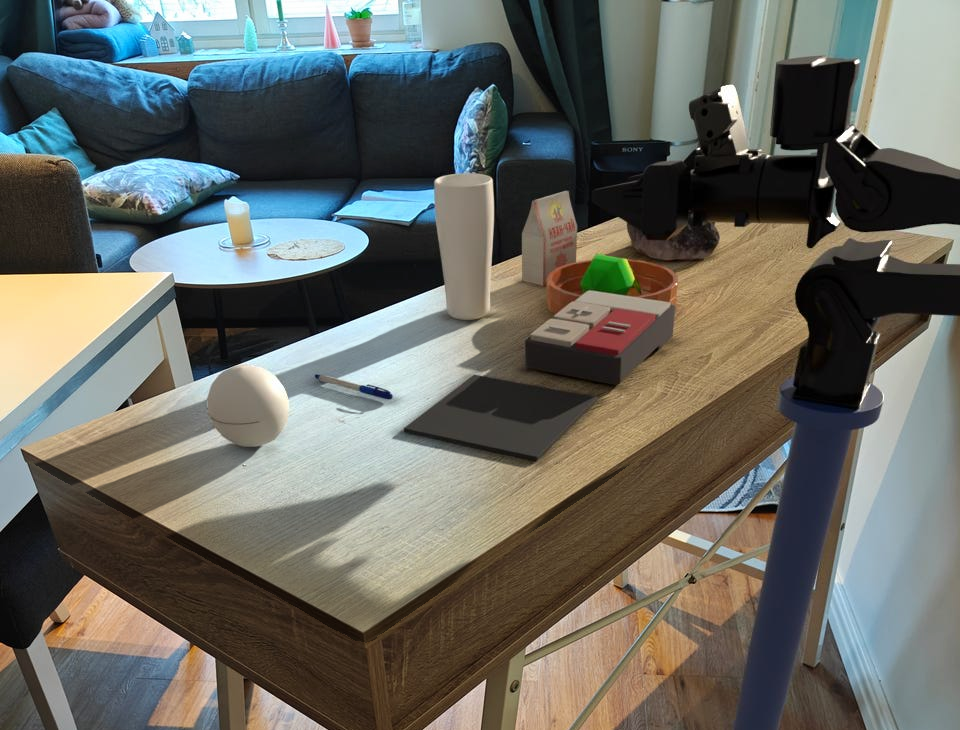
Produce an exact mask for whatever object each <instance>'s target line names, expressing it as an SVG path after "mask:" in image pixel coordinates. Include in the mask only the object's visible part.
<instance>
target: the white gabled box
mask: <svg viewBox="0 0 960 730" xmlns="http://www.w3.org/2000/svg"><path fill="white" fill-rule="evenodd" d="M577 245H578V223H577V221H576V218H575V213H574V210H573V206H572V203H571V198H570V190H564V191H561V192H557V193H554V194H551V195H547V196H544V197H540V198H537V199H534V200H532V201H531V205H530V210H529V213H528V216H527V219H526V221H525V224H524V227H523V229H522V232H521V281H522V282H526V283H530V284H534V285H538V286H542V287H544V286H547V278H548V275H549V273H551V272H552V271H553V270H555V269H556V268H558V267H561V266H564V265H567V264H570V263H574V262H577Z"/></svg>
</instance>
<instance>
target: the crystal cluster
mask: <svg viewBox="0 0 960 730" xmlns="http://www.w3.org/2000/svg"><path fill="white" fill-rule="evenodd" d="M692 219H693V214H688V224H687V225H686V226H685V227H684V228H683V229H682V230H681V231H680V232H679V234H677V235H675V236H673V237H671V238H670V239H668V240H666V241H665V240H647V239H646V236H644V235H642V232H641V231H640V230H638V229H636V228H635V227H633V226H632V225H630V224H629V223H627V222H626V229H627V233H628V236H629V239H630V245H631V247H632V248H633V249H634V250H636V252H637V253H638V254H641V255H646V256H648V258H652V259H656V260H661V261H672V260H685V261H686V260H687V261H691V260H704V259H706V258H708V257H709V256H711V255H712V254H713V253H714V251H715V249H716V248H717V246H718V245H719V244H720V239H721V238H720V233H719V231H718V229H717V227H716V222H709V223H707V224H705V225H703V226H692Z"/></svg>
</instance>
